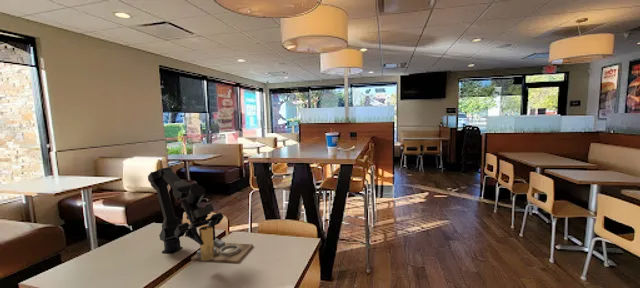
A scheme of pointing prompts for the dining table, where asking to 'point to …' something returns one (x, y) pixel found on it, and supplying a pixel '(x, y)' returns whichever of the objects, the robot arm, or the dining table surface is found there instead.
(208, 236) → the brass sleeve
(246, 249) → the shaft board
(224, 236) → the dining table surface
